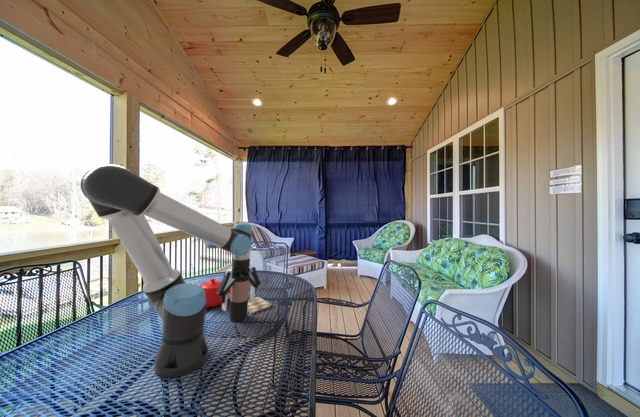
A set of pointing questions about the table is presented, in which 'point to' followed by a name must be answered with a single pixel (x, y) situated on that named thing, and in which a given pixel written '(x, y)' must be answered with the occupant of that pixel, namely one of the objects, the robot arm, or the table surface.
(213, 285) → the teapot
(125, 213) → the robot arm
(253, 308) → the trivet
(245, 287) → the travel mug
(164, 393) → the table surface
